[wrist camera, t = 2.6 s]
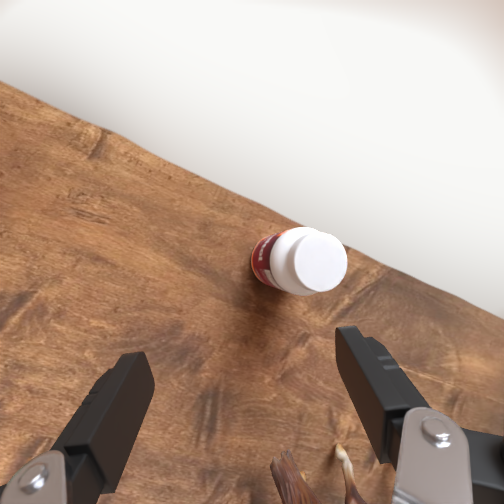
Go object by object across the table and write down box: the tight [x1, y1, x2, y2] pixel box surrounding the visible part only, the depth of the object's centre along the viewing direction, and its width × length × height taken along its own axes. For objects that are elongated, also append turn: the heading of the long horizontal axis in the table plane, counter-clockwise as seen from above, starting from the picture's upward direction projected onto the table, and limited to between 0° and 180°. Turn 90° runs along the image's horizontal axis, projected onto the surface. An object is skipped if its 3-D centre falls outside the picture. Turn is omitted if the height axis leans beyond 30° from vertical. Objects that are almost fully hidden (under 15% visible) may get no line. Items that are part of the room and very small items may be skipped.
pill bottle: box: [251, 227, 347, 296], centre depth 24 cm, size 6×6×11 cm
